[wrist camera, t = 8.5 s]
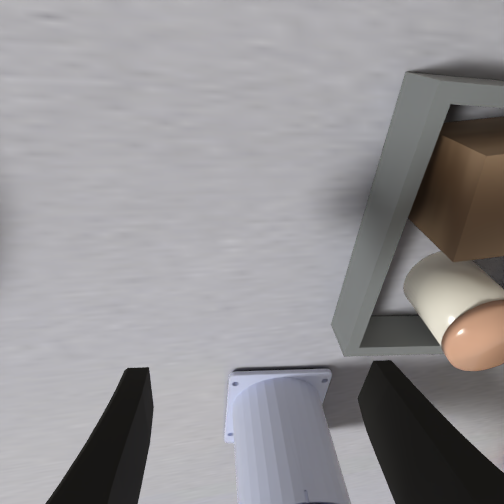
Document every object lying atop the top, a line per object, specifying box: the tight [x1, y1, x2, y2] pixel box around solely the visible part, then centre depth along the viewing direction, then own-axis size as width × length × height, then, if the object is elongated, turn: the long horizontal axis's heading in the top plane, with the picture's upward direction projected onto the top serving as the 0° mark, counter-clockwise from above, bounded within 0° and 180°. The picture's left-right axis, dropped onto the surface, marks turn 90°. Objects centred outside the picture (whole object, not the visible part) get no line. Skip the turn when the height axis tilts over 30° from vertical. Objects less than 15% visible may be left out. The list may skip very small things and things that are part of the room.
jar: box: [403, 251, 504, 371], centre depth 21 cm, size 5×5×6 cm
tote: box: [331, 72, 504, 357], centre depth 20 cm, size 16×13×3 cm
